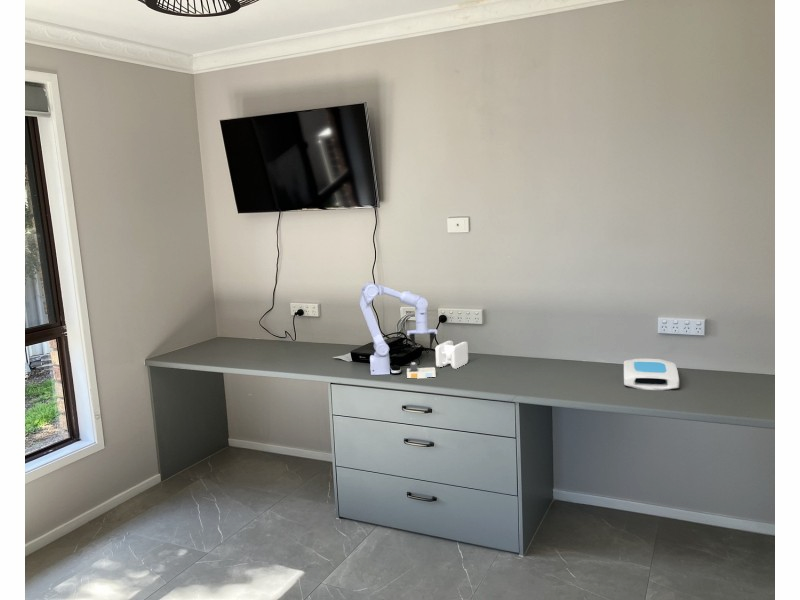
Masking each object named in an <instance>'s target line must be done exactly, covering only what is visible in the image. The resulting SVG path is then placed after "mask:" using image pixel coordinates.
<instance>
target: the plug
mask: <svg viewBox="0 0 800 600" xmlns="http://www.w3.org/2000/svg"><path fill="white" fill-rule="evenodd" d="M409 366H410V369H411V372H417V368H418V364H417V362H414V361H413V362H412V361H411V363H410V364H409Z"/></svg>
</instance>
